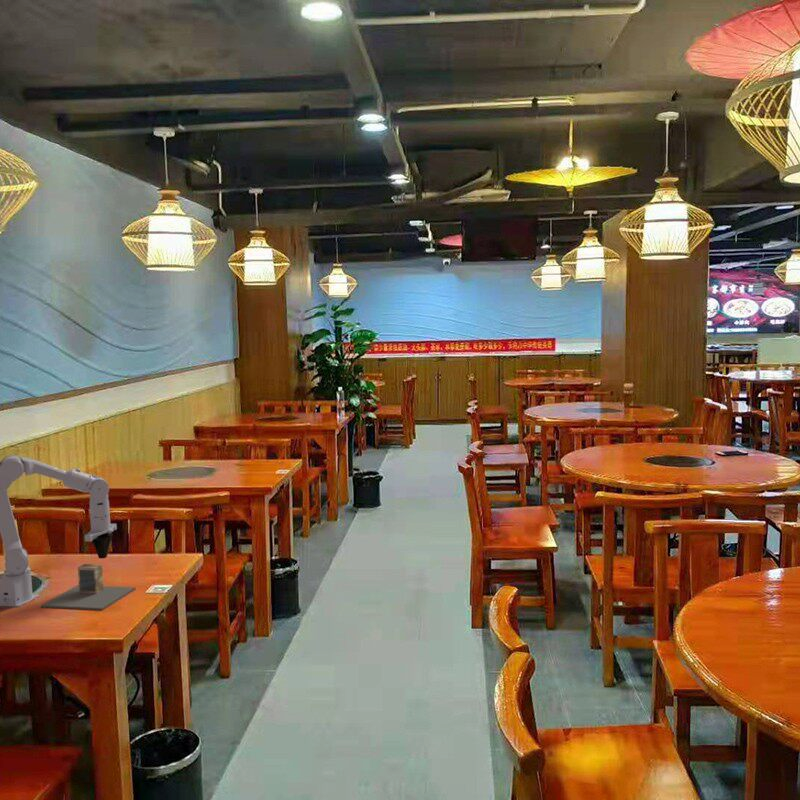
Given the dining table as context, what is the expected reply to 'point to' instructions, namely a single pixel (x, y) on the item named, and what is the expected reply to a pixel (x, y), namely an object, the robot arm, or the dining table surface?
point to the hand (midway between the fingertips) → (102, 557)
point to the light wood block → (90, 578)
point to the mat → (88, 598)
